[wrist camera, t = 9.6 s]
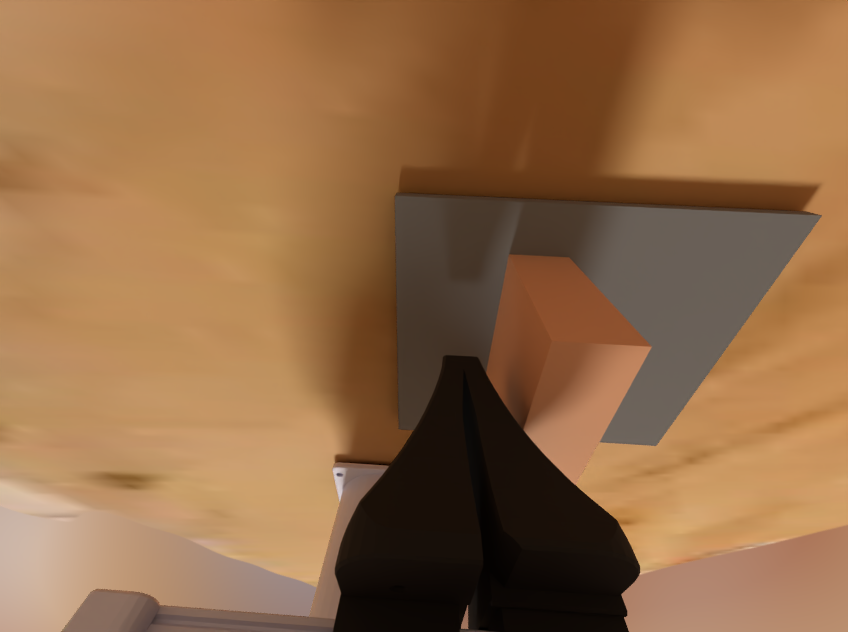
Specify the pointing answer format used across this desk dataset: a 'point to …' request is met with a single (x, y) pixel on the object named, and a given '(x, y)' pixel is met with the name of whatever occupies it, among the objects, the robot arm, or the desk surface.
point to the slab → (561, 357)
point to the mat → (606, 268)
